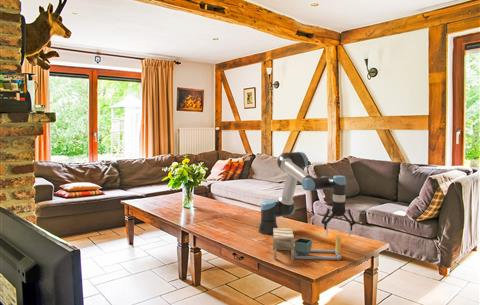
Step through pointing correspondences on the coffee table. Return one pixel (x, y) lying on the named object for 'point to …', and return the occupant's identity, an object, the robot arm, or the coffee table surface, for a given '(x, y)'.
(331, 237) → the coffee table surface
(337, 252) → the frame with square tube
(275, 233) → the shelf
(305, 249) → the flower pot
